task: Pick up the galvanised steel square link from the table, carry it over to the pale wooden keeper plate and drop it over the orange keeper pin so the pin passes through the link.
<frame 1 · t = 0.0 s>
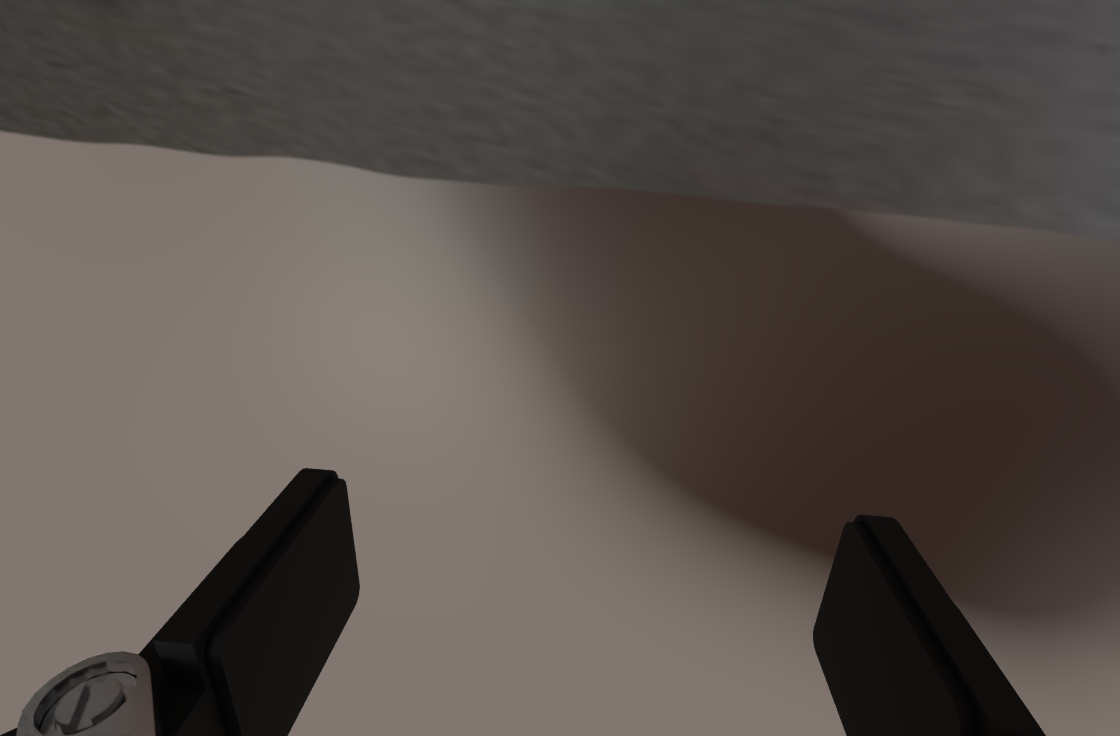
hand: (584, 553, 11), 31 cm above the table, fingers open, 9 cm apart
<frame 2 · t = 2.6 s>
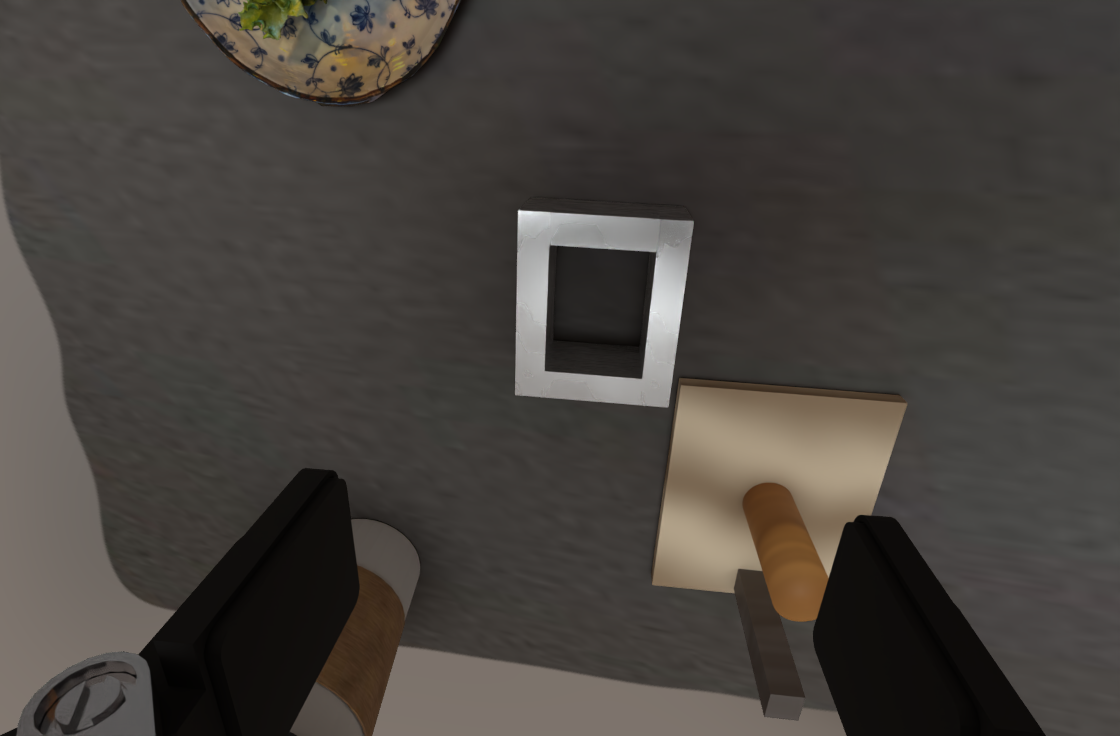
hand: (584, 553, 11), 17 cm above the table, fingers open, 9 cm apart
link: (600, 289, 26), on the table
keeper: (763, 493, 30), on the table
coffee cup: (372, 556, 34), on the table
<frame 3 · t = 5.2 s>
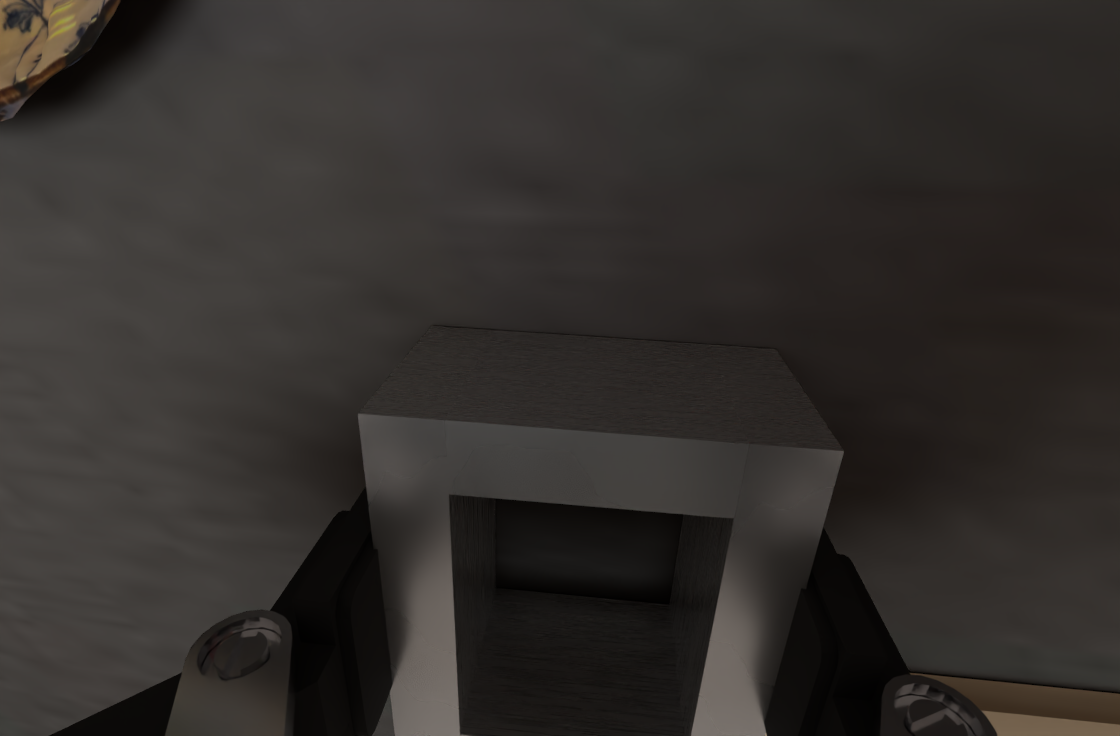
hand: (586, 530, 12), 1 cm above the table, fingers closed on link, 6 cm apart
link: (588, 504, 12), on the table, touching gripper
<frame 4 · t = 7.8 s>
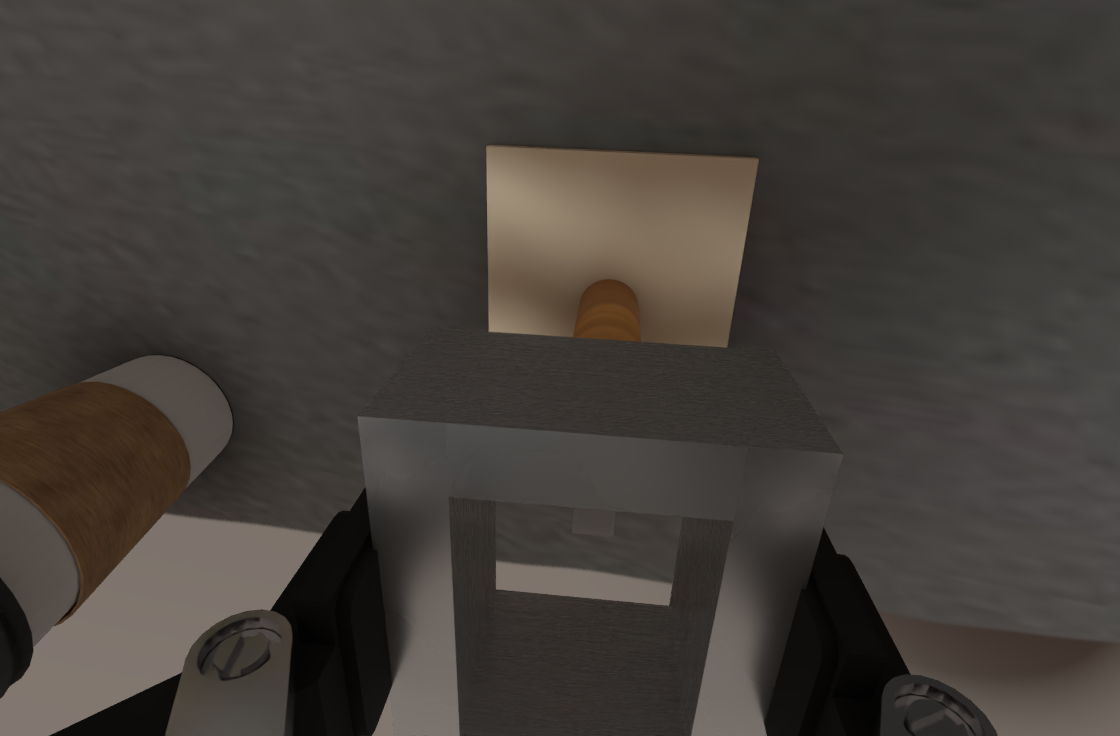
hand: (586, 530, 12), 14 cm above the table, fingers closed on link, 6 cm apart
link: (588, 505, 12), point 14 cm above the table, touching gripper
keeper: (609, 301, 25), on the table
coffee cup: (178, 406, 29), on the table
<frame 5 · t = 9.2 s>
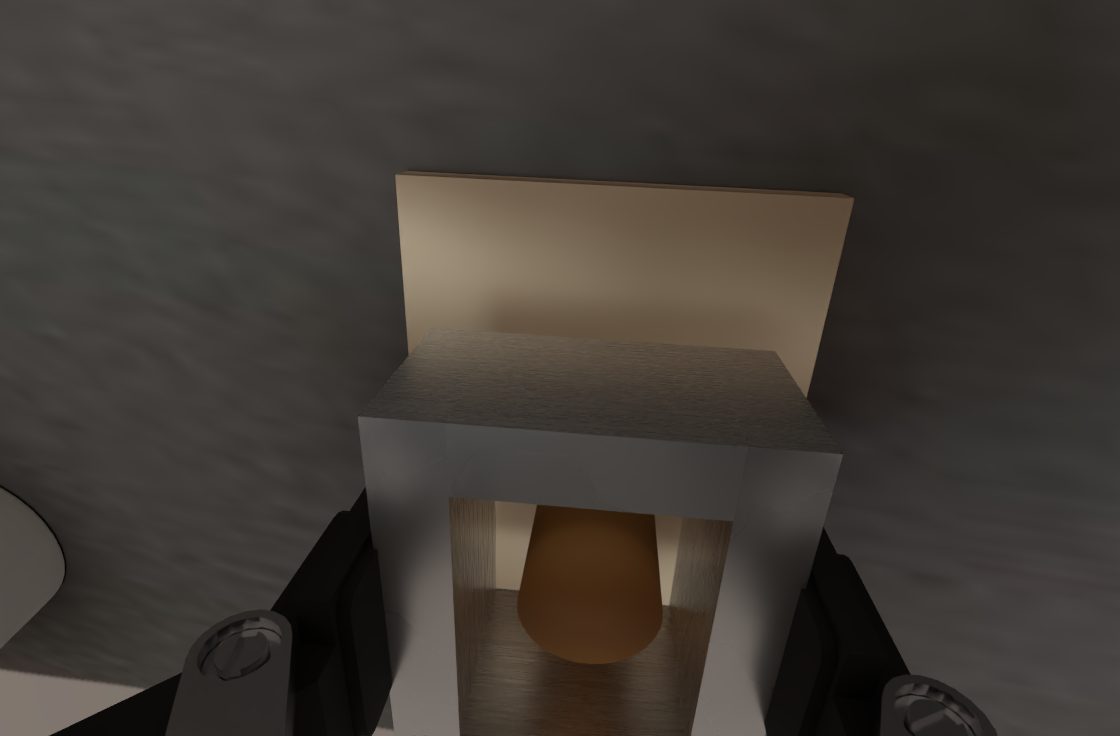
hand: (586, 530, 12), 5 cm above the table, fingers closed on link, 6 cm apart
link: (588, 505, 12), point 4 cm above the table, touching gripper
keeper: (601, 410, 16), on the table
when the fingers open (3 cm above the table, at t = 10.5 s): link drops 1 cm, resting on keeper.
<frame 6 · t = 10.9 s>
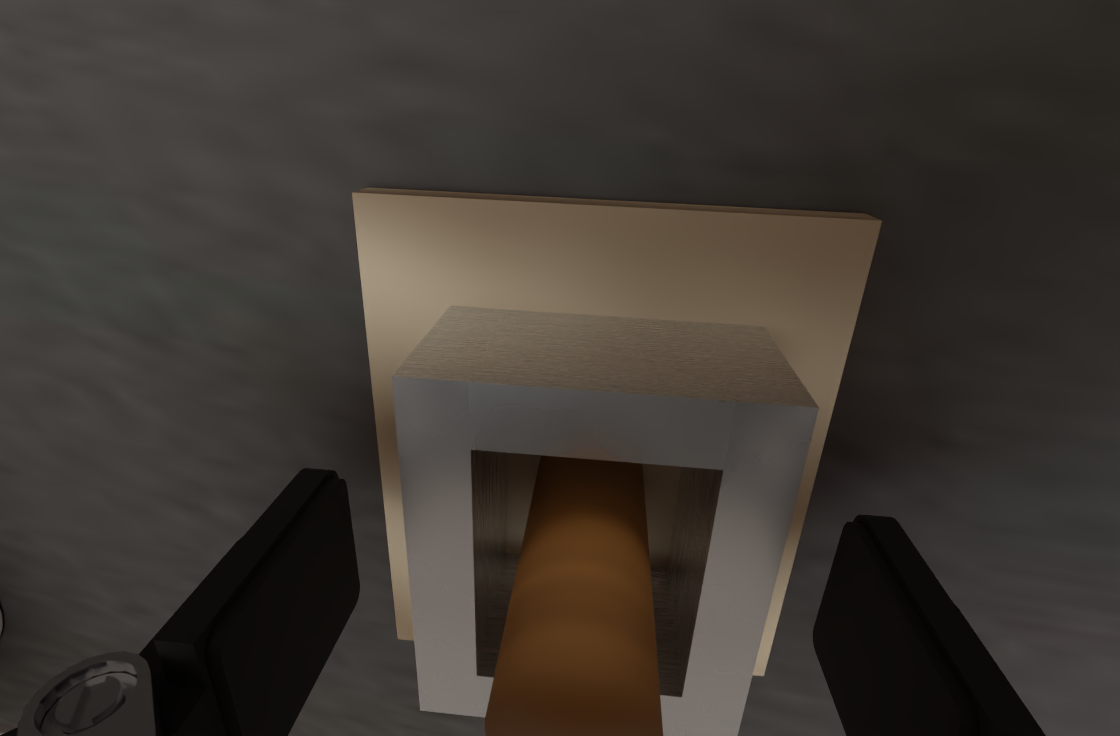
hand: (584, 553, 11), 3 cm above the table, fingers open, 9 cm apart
link: (592, 472, 14), point 1 cm above the table, touching keeper
keeper: (591, 453, 14), on the table
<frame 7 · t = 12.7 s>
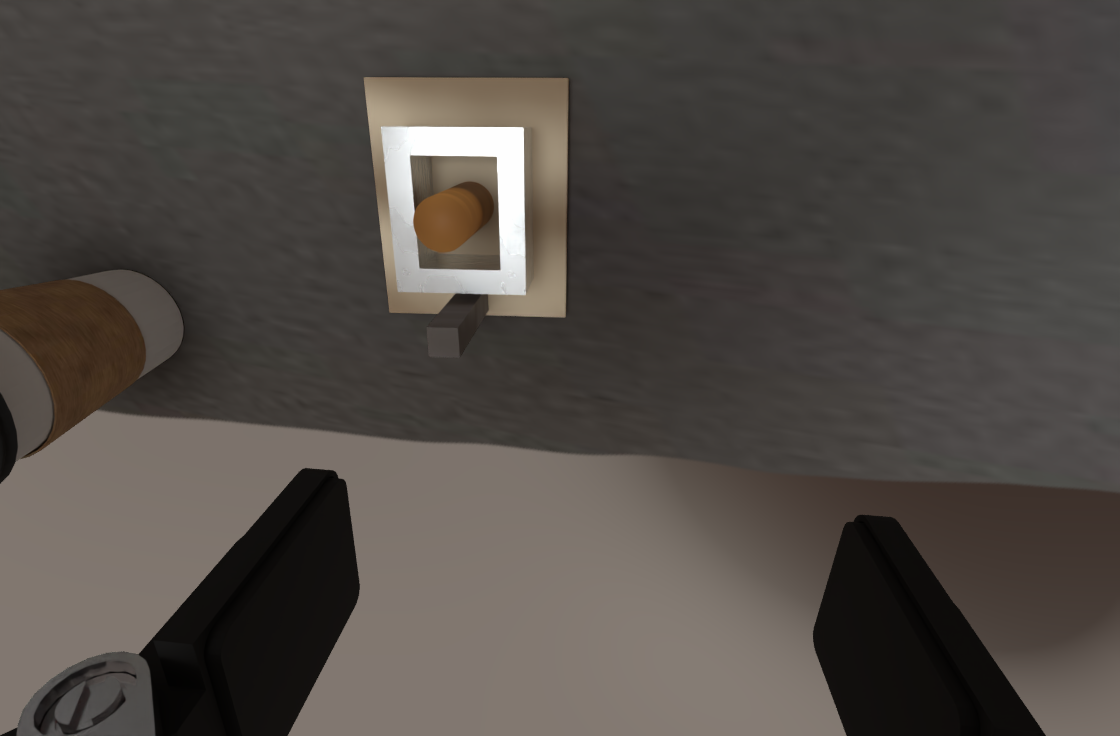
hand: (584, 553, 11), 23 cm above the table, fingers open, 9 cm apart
link: (472, 205, 31), point 1 cm above the table, touching keeper
keeper: (474, 203, 31), on the table
coffee cup: (138, 316, 36), on the table
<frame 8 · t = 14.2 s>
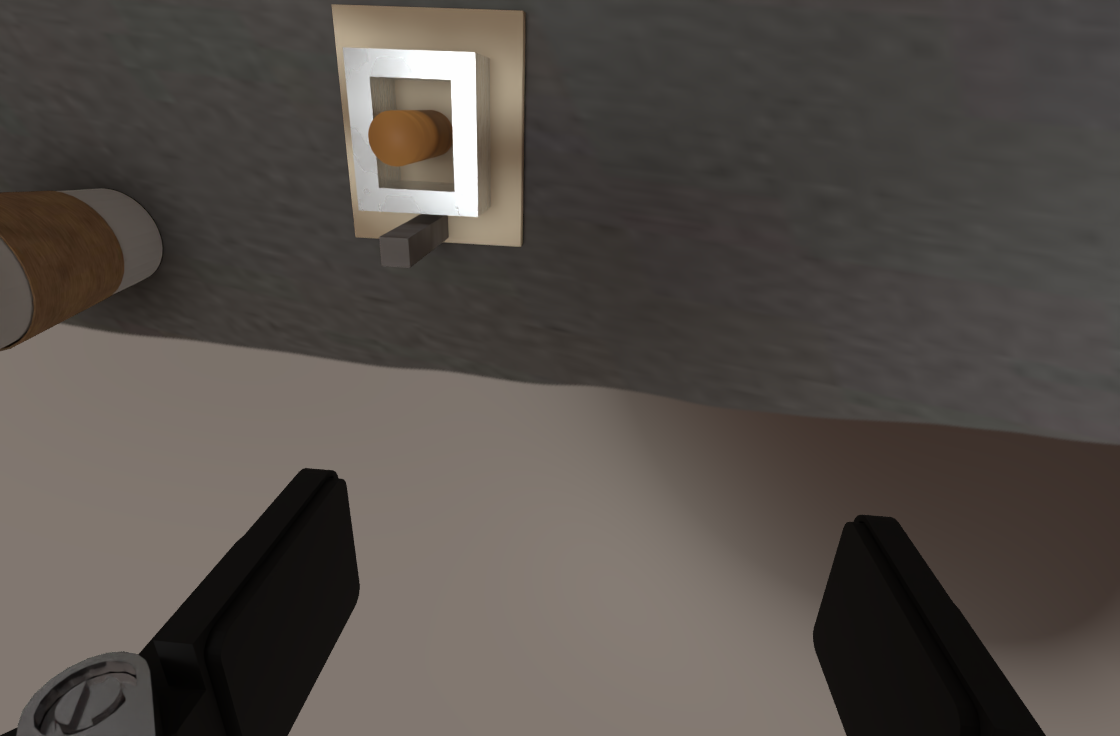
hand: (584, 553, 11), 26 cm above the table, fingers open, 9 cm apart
link: (433, 133, 32), point 1 cm above the table, touching keeper
keeper: (436, 133, 33), on the table
coffee cup: (120, 235, 38), on the table
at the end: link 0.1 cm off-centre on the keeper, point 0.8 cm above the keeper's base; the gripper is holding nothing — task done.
